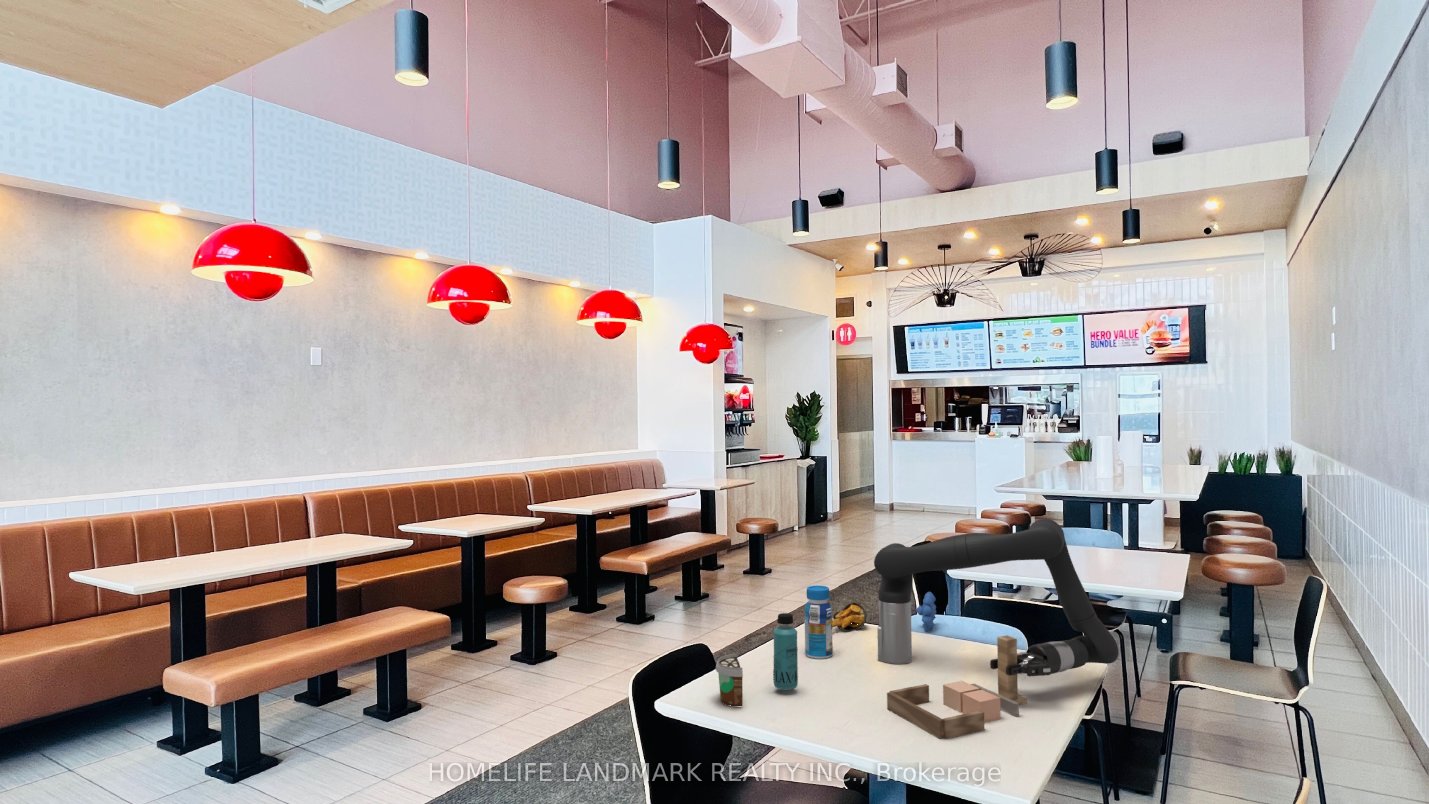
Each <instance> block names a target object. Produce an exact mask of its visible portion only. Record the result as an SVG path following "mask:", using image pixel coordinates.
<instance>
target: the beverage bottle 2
mask: <svg viewBox="0 0 1429 804" xmlns="http://www.w3.org/2000/svg"><path fill="white" fill-rule="evenodd" d="M806 587H807V588H806V598H807V599H806V600H808V601H807V603H805V607H804V613H805V615H804V617H803V623H804V646H805V647H804V648H805V649H804V653H805V656H806V657H808V658H812V659H817V660H818V659H819V660H822V659H829V658H831V657H832V656H833V652H834V650H833V628H832V623H833V615H832V613H833V608H832V606H831V604H830V602H829V601H828V600H829V599H830V587H828V586H825V585H818V584H817V585H809V586H806Z"/></svg>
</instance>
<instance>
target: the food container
mask: <svg viewBox="0 0 1429 804" xmlns="http://www.w3.org/2000/svg"><path fill="white" fill-rule="evenodd" d="M738 659H739V658H738V653H730V654H727V655H723V656H721V657H719V658H718V659H717V662H716V665H715V671H716V672H717V673H718V685H719V694H720V696H719V697H720V702H721V703H722V704H723V703H724V704H723V705H725V704H726V705H725V706H727V705H731V706H743V707H744V705H743V703H744V702H743V700H744V699H743V695H744V694H743V677H744V674H743V667H741V665H740V662H739V660H738ZM731 706H730V707H731Z"/></svg>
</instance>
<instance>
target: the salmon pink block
mask: <svg viewBox="0 0 1429 804" xmlns="http://www.w3.org/2000/svg"><path fill="white" fill-rule="evenodd" d="M962 698H963V712H962V714H967V713H971V712H976V711H983V712H984V723H986V722H991V720H992V721H996V720H1000V718H1001V710H1000V697H997V696H995V695H993V694H991V693H988V692H986V691H984V690H978V691H973V692H968V693H963V694H962Z"/></svg>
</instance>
